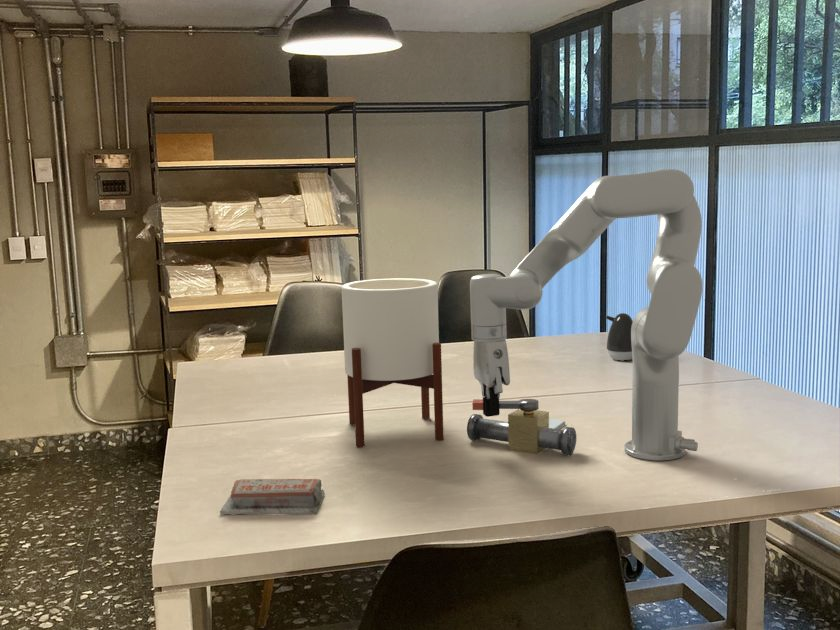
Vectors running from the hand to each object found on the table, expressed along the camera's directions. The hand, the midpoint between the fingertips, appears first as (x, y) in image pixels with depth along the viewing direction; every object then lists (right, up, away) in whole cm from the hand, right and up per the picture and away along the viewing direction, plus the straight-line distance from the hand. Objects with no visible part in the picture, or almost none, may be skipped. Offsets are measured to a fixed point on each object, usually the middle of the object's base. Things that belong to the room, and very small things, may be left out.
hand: (491, 414), depth 185 cm
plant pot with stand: (-22, -6, +20) cm, 30 cm away
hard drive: (+13, -6, +18) cm, 23 cm away
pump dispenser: (+50, +7, +91) cm, 104 cm away
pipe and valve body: (+7, -8, +5) cm, 11 cm away
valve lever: (+3, +1, +3) cm, 5 cm away
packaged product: (-43, -15, -25) cm, 52 cm away
